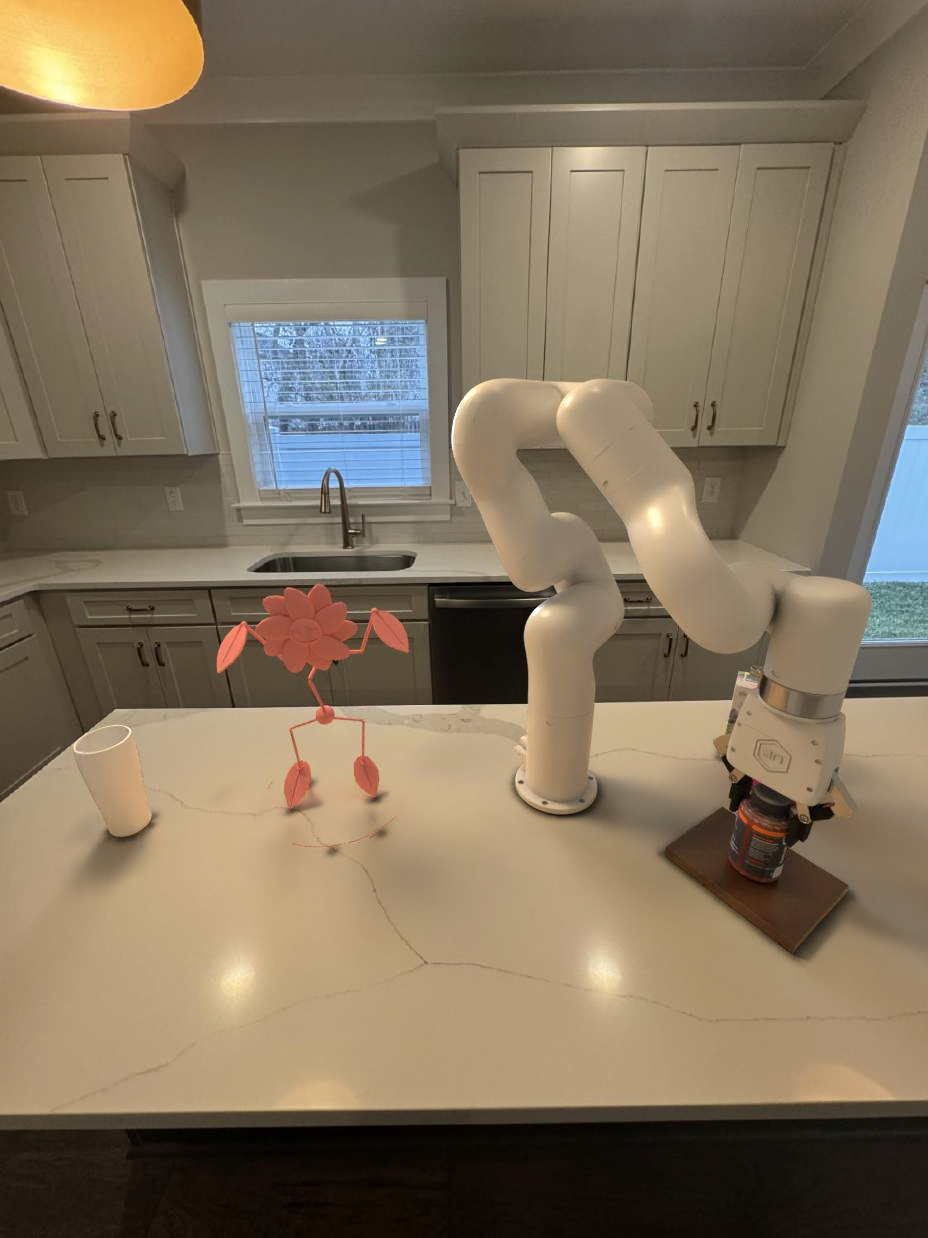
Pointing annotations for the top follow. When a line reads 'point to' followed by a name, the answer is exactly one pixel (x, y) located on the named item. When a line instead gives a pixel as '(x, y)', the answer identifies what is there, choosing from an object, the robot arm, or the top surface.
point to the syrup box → (739, 697)
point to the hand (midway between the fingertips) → (765, 822)
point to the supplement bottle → (761, 834)
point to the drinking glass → (114, 778)
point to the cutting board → (770, 906)
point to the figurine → (313, 662)
